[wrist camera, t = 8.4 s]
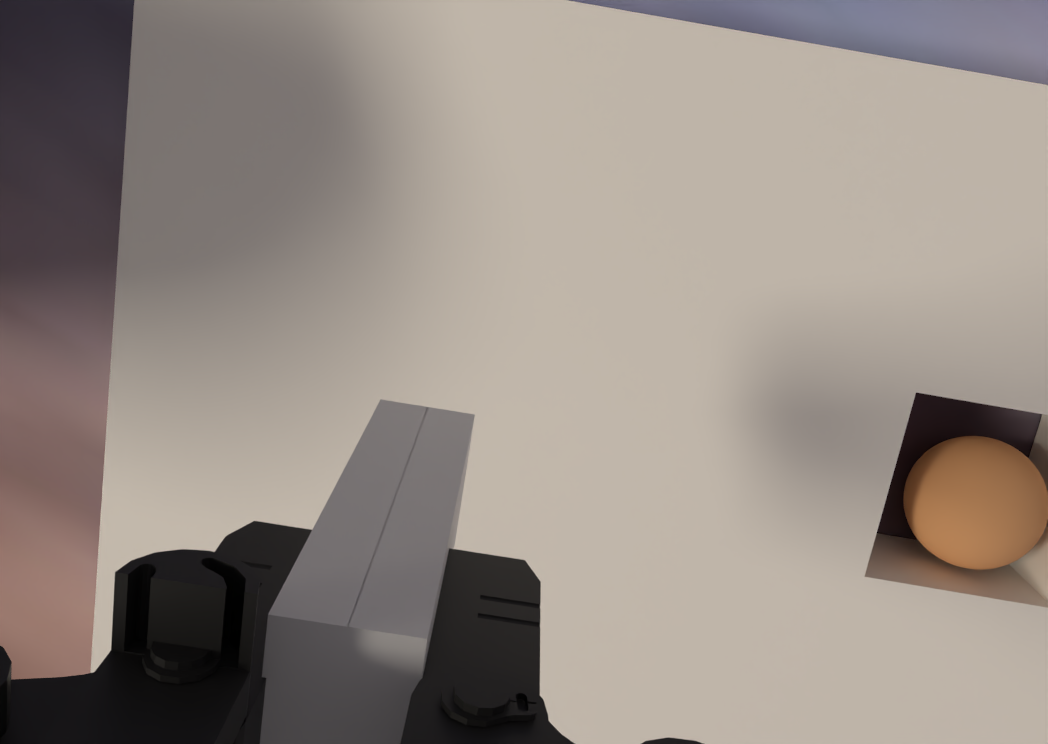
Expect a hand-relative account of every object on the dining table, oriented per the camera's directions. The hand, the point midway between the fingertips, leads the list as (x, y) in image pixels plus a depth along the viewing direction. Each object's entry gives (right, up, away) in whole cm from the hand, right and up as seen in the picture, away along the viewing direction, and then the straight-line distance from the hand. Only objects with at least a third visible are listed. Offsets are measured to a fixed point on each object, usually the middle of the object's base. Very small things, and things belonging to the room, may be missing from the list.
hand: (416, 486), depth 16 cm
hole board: (+6, +1, +10) cm, 11 cm away
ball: (+13, -1, +8) cm, 15 cm away
